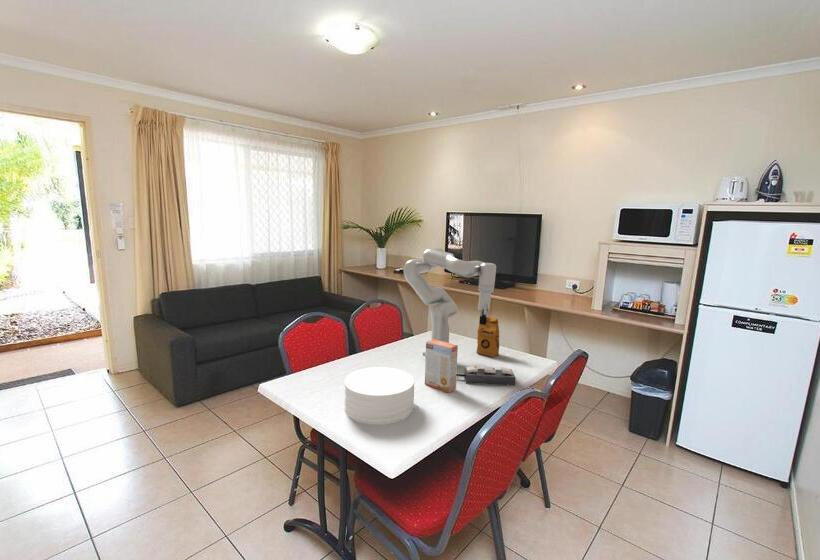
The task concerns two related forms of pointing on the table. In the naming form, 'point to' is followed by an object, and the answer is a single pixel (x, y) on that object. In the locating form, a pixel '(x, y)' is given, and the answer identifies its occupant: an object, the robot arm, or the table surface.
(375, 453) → the table surface
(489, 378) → the power strip
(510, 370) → the rocker right
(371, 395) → the plate stack
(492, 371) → the plate
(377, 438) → the table surface
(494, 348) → the coffee package
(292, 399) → the table surface
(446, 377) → the cracker box
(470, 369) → the block
